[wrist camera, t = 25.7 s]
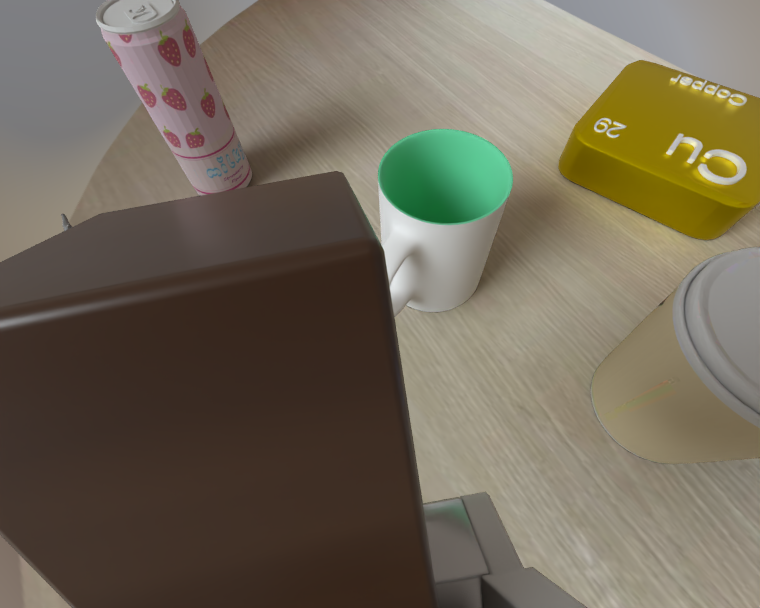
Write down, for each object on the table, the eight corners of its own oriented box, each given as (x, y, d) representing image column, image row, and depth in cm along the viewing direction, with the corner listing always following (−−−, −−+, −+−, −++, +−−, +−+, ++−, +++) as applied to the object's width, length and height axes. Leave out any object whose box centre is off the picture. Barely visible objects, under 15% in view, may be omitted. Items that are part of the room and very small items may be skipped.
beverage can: (228, 210, 37) (134, 38, 24) (183, 190, 38) (71, 17, 25) (264, 172, 39) (198, -5, 26) (221, 154, 40) (137, -21, 27)
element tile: (764, 151, 38) (810, 105, 34) (713, 250, 33) (760, 210, 28) (614, 95, 43) (637, 48, 39) (548, 173, 38) (568, 129, 33)
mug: (426, 371, 28) (440, 301, 19) (336, 319, 31) (311, 236, 22) (496, 255, 33) (533, 156, 24) (413, 218, 35) (419, 114, 26)
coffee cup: (710, 354, 28) (896, 256, 18) (738, 494, 24) (1005, 475, 13) (575, 331, 30) (675, 227, 19) (578, 460, 25) (710, 419, 15)
